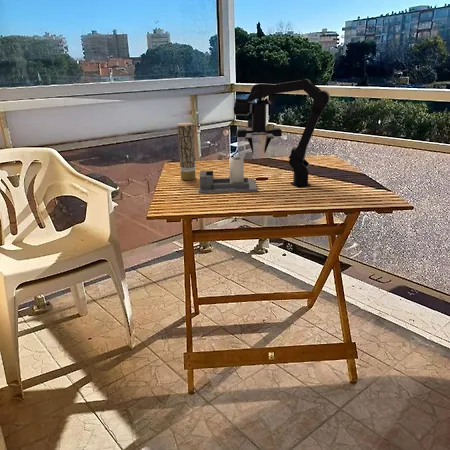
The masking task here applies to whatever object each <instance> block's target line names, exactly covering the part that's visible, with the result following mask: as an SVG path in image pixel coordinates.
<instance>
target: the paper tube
mask: <svg viewBox="0 0 450 450" xmlns="http://www.w3.org/2000/svg"><path fill="white" fill-rule="evenodd" d="M176 126H177V138H178V139H177V140H178V156H179V170H180V179H181V180H182V181H193V180H195V178H197V177H196V159H195V142H194V139H195V138H194V137H195V136H194V124H193V122H179V123H178V122H177V125H176Z"/></svg>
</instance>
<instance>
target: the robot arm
mask: <svg viewBox="0 0 450 450" xmlns="http://www.w3.org/2000/svg"><path fill="white" fill-rule="evenodd" d="M296 91H297V92H299V91H304V92H305V93H306V94H307V96H309V97H310V98H311V99H313V100H312V104H311V105H312V106H311V110H310V114H309V118H308V120H307V122H306V125H305V128H304V129H303V132H302V135H301V137H300V140H299V142H298V144H297V146H293V147H292V148H291V151H290V155H289V156H288V163H289V166H290V167H291V168H292V170H293V178H292V179H293V181H291V182H290V184H291V185H292V186H295V187H297V188H302V187H309V186H311V185H312V184H311V183H309V170H308V169H309V167H310V163H309V161H307V160H306V159H305V158H306V157H307V156H306V154H307V149H308V145H309V143H310V141H311V138H312V136H313V133H314V131H315V129H316V126H317V124H318V122H319V119H320V117H321V115H322V113H323V111H324V110H325V108H326V107H327V105H328V104H329V101H330V99H331V95H330V93H329V91H327V90H326V89H325V90H323V89H320V88H319V87H318V86H317V85H316V84H314V83H313V82H311V80H310V79H308V78H303V79H302V80H301V79H299V80H294V81H287V82H279V83H262V82H260V83H256V84H254V85H253V86H252V87H251V90H250V94H249V95H248V96H247V98H240V97H237V98H235V99H234V104H233V105H234V106H233V114H234V115H235V116H249V115H250V114H251V119H248V120H247V128H248V129H251V130H247V128H237V129H236V137H237V138H244V139H245V140H246V141H248V143H249V146H250V150H251V153H252V154H254V142H253V137H252V136H262V135H265V140H264V147H263V148H264V149H263V153H264V154H266V152H267V150H268V146H269V145H270V143H271V140H272V139H273V140H274V138H275V137H276V138H277V137H283V130H282V129H281V128H280V127H271V128H270V129H266V128H267V125H266V124H267V105H271V104H272V101H271V100H269V98H268V97H269V96H272V95H277V94H282V93H289V92H296ZM263 98H265V99H263ZM256 100H257V101H256ZM254 101H256V102H254Z"/></svg>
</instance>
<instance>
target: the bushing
mask: <svg viewBox="0 0 450 450" xmlns="http://www.w3.org/2000/svg"><path fill="white" fill-rule="evenodd" d="M228 160H229V161H228V162H229V164H228V165H229V168H228V169H229V178H230V183H244V178H245V177H244V176H245V175H244V173H245V171H244V169H245V168H244V167H245V166H244V162H245V161H244V157H241V156H233V157H229V159H228Z"/></svg>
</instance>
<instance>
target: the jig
mask: <svg viewBox="0 0 450 450" xmlns="http://www.w3.org/2000/svg"><path fill="white" fill-rule="evenodd" d="M249 192H250V193H251V192H252V193H253V192H254V193H255V192H258V187H257V184H256V181H255V178H248V177H244V183H230V177H223V178H222V177H218V178H217V177H216V178H214V170H200V172H199V186H198V194H209V193H210V194H212V193H213V194H214V193H215V194H217V193H249Z"/></svg>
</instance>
